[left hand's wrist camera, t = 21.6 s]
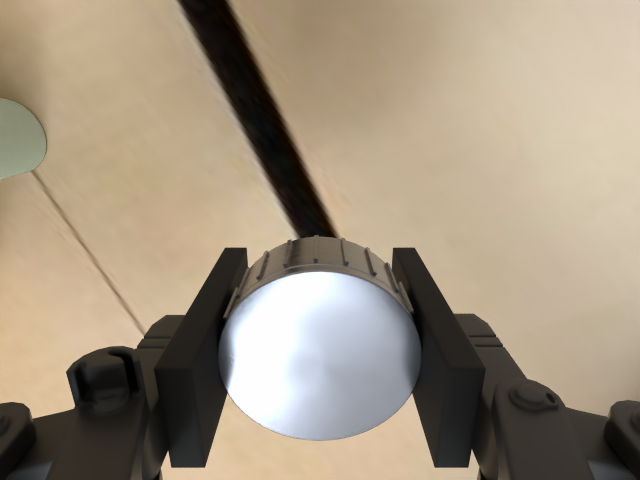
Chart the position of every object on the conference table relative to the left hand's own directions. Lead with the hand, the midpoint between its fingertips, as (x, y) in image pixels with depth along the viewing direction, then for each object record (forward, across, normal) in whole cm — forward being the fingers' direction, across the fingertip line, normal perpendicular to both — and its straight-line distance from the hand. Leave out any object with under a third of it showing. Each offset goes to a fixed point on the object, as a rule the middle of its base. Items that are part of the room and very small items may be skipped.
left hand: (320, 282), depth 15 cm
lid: (-4, 0, 0) cm, 4 cm away
